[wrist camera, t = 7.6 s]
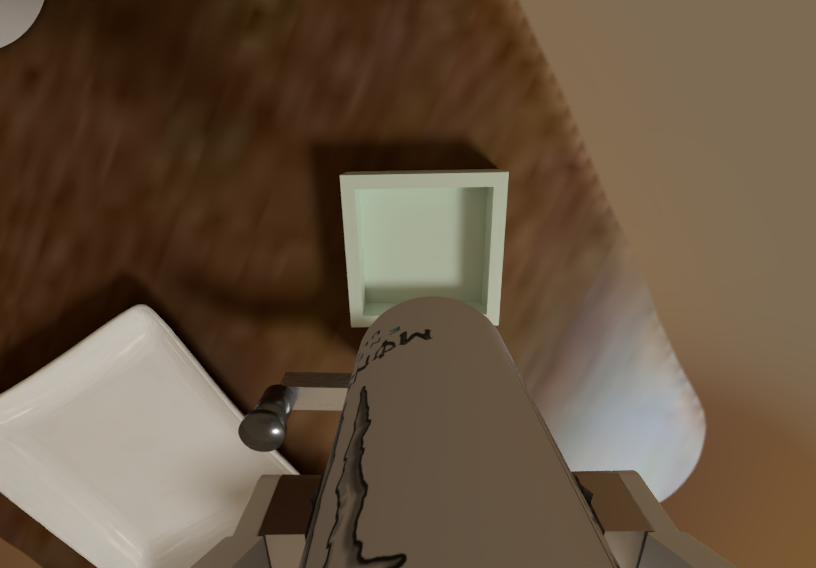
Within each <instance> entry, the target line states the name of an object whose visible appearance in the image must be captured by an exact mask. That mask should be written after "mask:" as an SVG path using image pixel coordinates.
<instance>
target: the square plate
mask: <svg viewBox="0 0 816 568" xmlns="http://www.w3.org/2000/svg"><path fill="white" fill-rule="evenodd" d="M244 417H245V416H244V415H243V414H242V412H241V411H240V410H239V409H238V408H237V407H236V406H235V405H234V403H233V402H232V401H231V400H230V399H229V398H228V397H227V395H226V394H225V393H224V392H223V391H222V390H221V388H220V387H219V386H218V385H217V384H216V382H215V381H214V380H213V379H212V378H211V376H210V375H209V374H208V373H207V372H206V370H205V369H204V368H203V367H202V366H201V364H200V363H199V362H198V361H197V359H196V358H195V357H194V356H193V354H192V353H191V352H190V351H189V350H188V348H187V347H186V346H185V345H184V344H183V343H182V342H181V340H180V339H179V338H178V337H177V336H176V335H175V333H174V332H173V331H172V329H171V328H170V327H169V326H168V325H167V324H166V323H165V322H164V321H163V320H162V319H161V317H160V316H159V315H158V314H157V313H156V312H155V311H154V310H152V309H151V308H150V307H148V306H147V305H144V304H138V305H136V306H133V307H131V308H129V309H128V310H126V311H124V312H123V313H121V314H119V315H118V316H116V317H115V318H113V319H112V320H110V321H109V322H107V323H106V324H104V325H103V326H102V327H100V328H99V329H97V330H96V331H95V332H93V333H92V334H90V335H89V336H87V337H86V338H85V339H83V340H82V341H80V342H79V343H78V344H76V345H75V346H73V347H72V348H70V349H69V350H68V351H66V352H65V353H63V354H62V355H60V356H59V357H57V358H56V359H54V360H53V361H51V362H50V363H49V364H47V365H46V366H44V367H43V368H41V369H40V370H38V371H37V372H35V373H34V374H32V375H31V376H29V377H28V378H26V379H24V380H23V381H21V382H19V383H18V384H16V385H15V386H13V387H11V388H10V389H8V390H6V391H5V392H3V393H1V394H0V492H1V493H2V494H4V495H5V496H6V497H7V498H8V499H10V500H11V501H12V502H13V503H15V504H16V505H17V506H18V507H20V508H21V509H22V510H24V511H25V512H26V513H27V514H29V515H30V516H31V517H32V518H34V519H35V520H36V521H38V522H39V523H40V524H42V525H43V526H44V527H45V528H46V529H48V530H49V531H50V532H52V533H53V534H54V535H55V536H57V537H58V538H59V539H61V540H62V541H63V542H65V543H66V544H67V545H69V546H70V547H71V548H73V549H74V550H75V551H76V552H78V553H79V554H81V555H82V556H83V557H84V558H86V559H87V560H88V561H90V562H91V563H92V564H94V565H95V566H96V567H98V568H190V567H191V566H192V565H193V564H195V563H196V562H197V561H198V560H199V559H200V558H202V557H203V556H204V555H205V554H206V553H207V552H209V551H210V550H211V549H212V548H213V547H214V546H215V545H217V544H218V543H219V542H220V541H221V540H222V539H224V538H225V537H230V536H233V533H234V531H235V529H236V527H237V524H238V522H239V520H240V518H241V516H242V513H243V511H244V509H245V507H246V505H247V502H248V500H249V498H250V496H251V493H252V491H253V489H254V487H255V485H256V482H257V480H258V479H259V478H260V477H261V476H262V475H263V474H267V475H283V474H292V475H301V474H300V473H299V472H298V471H297V470H296V469H295V468H294V467H293V466H292V465H291V464H290V463H289V462H288V461H287V460H286V459H285V458H284V457H283V456H282V455H281V454H280V453H279V452H278V451H277V450H276V449H275V450H273V451H270V452H259V451H255V450H252V449H250V448H249V447H247V446H246V445H245V444H244V443H243V442H242V441H241V439H240V437H239V434H238V429H239V425H240V424H241V422H242V420H243V419H244Z"/></svg>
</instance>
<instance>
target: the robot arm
mask: <svg viewBox="0 0 816 568" xmlns="http://www.w3.org/2000/svg"><path fill="white" fill-rule="evenodd" d="M43 3H44V0H0V47H3V46H6V45H8V44H10V43H12V42H13V41H15V40H16V39H18V38H19V37H20V36H22V35H23V34H24V33H25V32H26V31H27V30H28V29H29V27H30V26H31V25H32V24H33V22H34V21H35V19H36V18H37V16H38V14H39V12H40V10H41V8H42V5H43ZM571 473H572V475H573V477H574V479H575V481H576V483H577V485H578V487H579V489H580V490H581V492H582V494H583V496H584V498H585V500H586V502H587V504H588V506H589V508H590V510H591V512H592V514H593V516H594V517H595V519H596V521H597V523H598V525H599V527H600V529H601V531H602V533H603V535H604V537H605V539H606V541H607V543H608V544H609V546H610V548H611V550H612V552H613V554H614V556H615V558H616V560H617V562H618V564H619V566H620V568H737V567H736V566H734V565H733V564H732V563H730V562H728V561H727V560H725V559H724V558H723V557H721V556H720V555H718V554H717V553H715V552H714V551H713V550H711V549H710V548H708V547H707V546H705V545H704V544H702V543H701V542H700V541H698V540H697V539H695V538H694V537H692V536H691V535H689V534H688V533H687V532H679V531H678V529H677V528H676V527H675V525H674V524H673V522H672V521H671V519H670V518H669V516H668V515H667V514H666V512H665V511H664V509H663V508H662V506H661V505H660V504H659V502H658V501H657V499H656V498H655V496H654V495H653V494H652V492H651V491H650V489H649V488H648V486H647V485H646V484H645V482H644V481H643V479H642V478H641V476H640V475H639V474H638V473H637V472H636V471H634V470H627V471H578V472H571ZM323 478H324V476H323V475H292V474H283V475H267V474H263V475H262V476H261V477H260V478H259V479H258V480H257V482H256V485H255V487H254V489H253V491H252V493H251V496H250V498H249V500H248V502H247V505H246V507H245V509H244V511H243V513H242V516H241V518H240V520H239V522H238V524H237V527H236V529H235V531H234V533H233V536H230V537H225V538H224V539H222V540H221V541H220V542H219V543H218V544H217V545H215V546H214V547H213V548H212V549H211V550H210V551H209V552H207V553H206V554H205V555H204V556H203V557H202V558H200V559H199V560H198V561H197V562H196V563H195V564H193V565H192V566H191V567H190V568H299V565H300V561H301V558H302V554H303V550H304V547H305V543H306V539H307V536H308V532H309V529H310V525H311V521H312V518H313V514H314V510H315V507H316V503H317V499H318V496H319V492H320V489H321V485H322V481H323Z"/></svg>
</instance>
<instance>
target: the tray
mask: <svg viewBox="0 0 816 568" xmlns="http://www.w3.org/2000/svg"><path fill="white" fill-rule="evenodd" d="M508 176H509V172H507V171H504V170H501V169H463V170H411V171H359V172H346V173H343V174H341V175H340V187H341V201H342V214H343V227H344V240H345V253H346V266H347V279H348V292H349V305H350V318H351V327H370V326H371V325H372V323H373V322H374V321H375V320H376V319H377V318H378V317H379V316H380V315H382V314H383V313H384V312H385V311H387V310H388V309H389V308H391V307H393V306H395V305H397V304H399V303H401V302H404V301H407V300H411V299H415V298H418V297H430V296H436V297H446V298H451V299H455V300H458V301H461V302H464V303H466V304H468V305H470V306H472V307H474V308H476V309H477V310H479V311H480V312H481V313H482V314H483V315H485V316H486V317H487V318H488V319H489V320H490V321H491V323H492V324H493V325H499V311H500V296H501V281H502V266H503V251H504V236H505V221H506V206H507V191H508Z"/></svg>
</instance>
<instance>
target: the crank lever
mask: <svg viewBox="0 0 816 568" xmlns="http://www.w3.org/2000/svg"><path fill="white" fill-rule="evenodd" d="M351 376H352V373H317V372H286V374H285V375H284V377H283V379H282V381H281V383H280V385H272V386H270V387H268V388H267V389H266V390H265V392H264V394H263V395H262V397H261V399H260V400H259V402H258V404H257V405H256V407H255V409H254V410H253V411H251V412H249V413H248V414H247V415H246V416H245V417H244V419H243V420H242V422H241V424H240V425H239V429H238V434H239V437H240V439H241V441H242V442H243V443H244V444H245V445H246V446H247V447H249V448H250V449H252V450H255V451H259V452H270V451H273V450H275V449H277V448H279V447H280V446H281V444H282V443H283V441H284V438H285V436H286V433H287V426H286V423H287V420H288V418H289V416H290V414H291V411H292V410H341V411H342V409H343V405H344V401H345V398H346V394H347V390H348V387H349V383H350V380H351Z"/></svg>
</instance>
